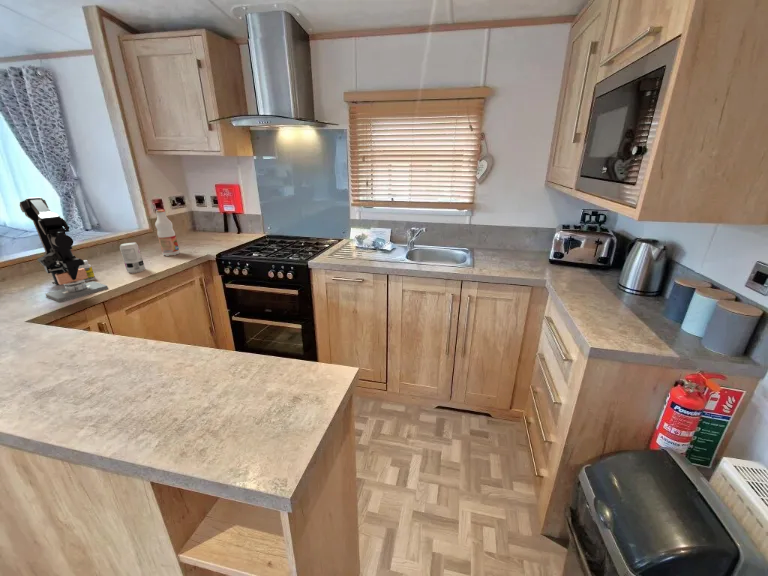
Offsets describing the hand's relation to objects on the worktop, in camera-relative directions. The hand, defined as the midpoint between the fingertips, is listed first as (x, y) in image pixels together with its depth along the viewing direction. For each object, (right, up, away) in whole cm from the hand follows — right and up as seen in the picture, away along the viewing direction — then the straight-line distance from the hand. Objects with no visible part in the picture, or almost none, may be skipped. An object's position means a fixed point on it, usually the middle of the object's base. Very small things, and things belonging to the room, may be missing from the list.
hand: (73, 279), depth 151 cm
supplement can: (+5, +5, +32) cm, 33 cm away
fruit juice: (+5, +17, +63) cm, 66 cm away
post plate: (0, -6, +2) cm, 6 cm away
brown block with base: (0, -5, +2) cm, 5 cm away
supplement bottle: (-10, 0, +20) cm, 22 cm away
